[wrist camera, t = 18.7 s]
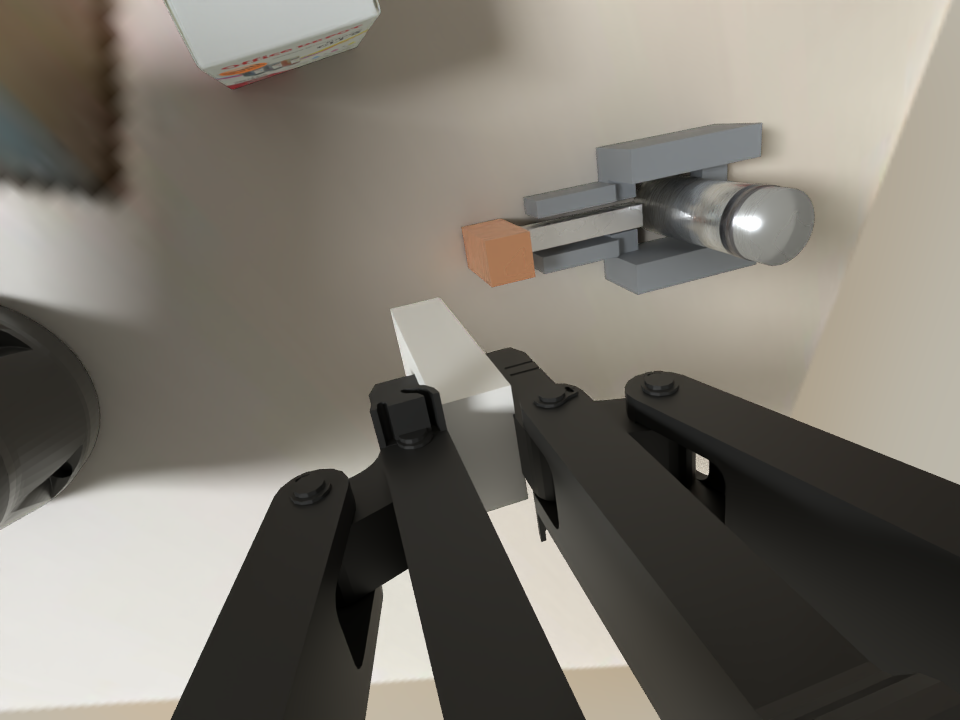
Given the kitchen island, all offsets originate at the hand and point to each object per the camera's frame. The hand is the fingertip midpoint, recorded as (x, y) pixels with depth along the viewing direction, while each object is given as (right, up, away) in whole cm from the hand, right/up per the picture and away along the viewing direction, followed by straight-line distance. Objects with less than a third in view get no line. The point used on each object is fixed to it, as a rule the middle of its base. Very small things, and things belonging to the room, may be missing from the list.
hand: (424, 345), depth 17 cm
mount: (+13, +11, +27) cm, 32 cm away
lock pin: (+7, +9, +25) cm, 28 cm away
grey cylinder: (+16, +12, +27) cm, 34 cm away
